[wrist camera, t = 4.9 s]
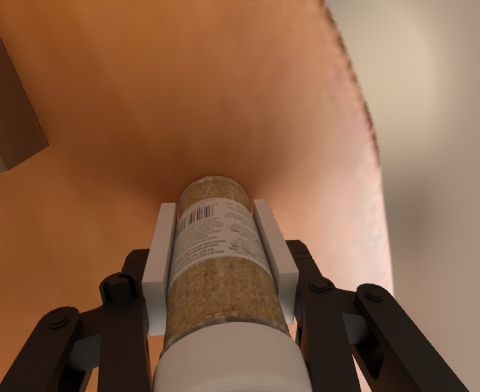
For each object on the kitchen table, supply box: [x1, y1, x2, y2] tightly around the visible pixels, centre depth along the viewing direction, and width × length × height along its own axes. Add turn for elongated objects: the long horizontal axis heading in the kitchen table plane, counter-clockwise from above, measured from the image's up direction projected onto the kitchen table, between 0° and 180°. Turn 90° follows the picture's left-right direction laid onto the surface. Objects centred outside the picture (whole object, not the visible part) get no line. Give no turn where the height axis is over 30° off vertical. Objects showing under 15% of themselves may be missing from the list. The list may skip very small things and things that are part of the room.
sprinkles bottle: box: [151, 175, 313, 392], centre depth 14 cm, size 5×5×14 cm
